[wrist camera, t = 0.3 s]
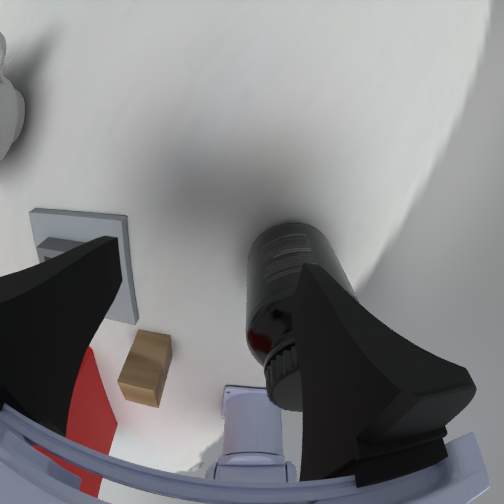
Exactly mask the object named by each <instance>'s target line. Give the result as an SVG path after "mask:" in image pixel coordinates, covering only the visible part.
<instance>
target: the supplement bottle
mask: <svg viewBox="0 0 504 504" xmlns="http://www.w3.org/2000/svg"><path fill="white" fill-rule="evenodd" d="M303 263H311V264H318V265H320V266H321V267H322V268H323V269H324V270H326V271H327V272H328V273H329V274H330V275H331V276H332V277H333V278H334V279H335V280H336V281H337V282H338V283H339V284H340V285H341V286H342V287H343V288H344V289H345V290H346V291H347V292H348V293H349V294H350V295H351V296H352V297H353V298H354V299H355V300H356V301H357V302H358V303H359V301H358V299H357V297H356V295H355V293H354V291H353V289H352V287H351V284H350V282H349V280H348V278H347V276H346V274H345V272H344V270H343V268H342V266H341V264H340V262H339V260H338V258H337V256H336V254H335V252H334V250H333V249H332V247H331V245H330V243H329V242H328V240H327V239H326V238H325V236H324V235H323V234H322V233H320V232H319V231H318V230H316V229H314V228H312V227H310V226H308V225H304V224H298V223H289V224H282V225H279V226H276V227H273V228H271V229H269V230H268V231H266V232H265V233H264V234H262V235H261V236H260V237H259V238H258V239H257V240H256V242H255V243H254V245H253V246H252V248H251V251H250V254H249V258H248V268H247V302H246V341H247V345H248V348H249V350H250V352H251V354H252V355H253V357H254V358H255V359H256V360H257V361H258V362H259V363H260V364H261V365H262V366H264V374H265V378H266V391H267V397H268V398H269V401H270V402H272V403H273V405H276V406H278V408H283V409H284V410H290V411H298V412H303V404H302V383H301V375H300V369H299V363H298V358H297V352H296V347H295V341H294V335H293V330H292V316H291V303H292V300H293V297H294V293H295V290H296V287H297V283H298V280H299V276H300V273H301V269H302V265H303Z"/></svg>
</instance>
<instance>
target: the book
mask: <svg viewBox="0 0 504 504" xmlns="http://www.w3.org/2000/svg"><path fill="white" fill-rule="evenodd" d="M116 428H117V421H116V419H115V416H114V414H113V411H112V409H111V406H110V404H109V401H108V398H107V395H106V393H105V390H104V387H103V384H102V381H101V378H100V375H99V371H98V368H97V365H96V361H95V358H94V354H93V350H92V349H91V348H90V347H89V346H88V348H87V351H86V353H85V356H84V359H83V361H82V364H81V367H80V370H79V373H78V376H77V380H76V383H75V386H74V390H73V395H72V399H71V404H70V409H69V415H68V422H67V430H66V436H65V438H67V439H69V440H71V441H73V442H76V443H78V444H80V445H83V446H85V447H88V448H90V449H93V450H95V451H98V452H100V453H103V454H106V455H109V451H110V448H111V444H112V441H113V437H114V434H115V431H116ZM33 445H34V444H33ZM34 447H35V449H36V450H38V451H39V452H41V453H42V454H44V455H46V456H47V457H49V458H51V459H52V460H53V461H54V462H56V463H57V464H58V465H60V466H61V467H63V468H64V469H66V470H68V471H69V472H71V473H73V474H75V475H77V476H78V477H80V478H81V480H82V481H81V484H80V491H81V492H83V493H86V494H88V495H90V496H93V497H95V498H98V493H99V489H100V485H101V481H102V477H100V476H97V475H95V474H92V473H90V472H87V471H85V470H83V469H80V468H78V467H76V466H74V465H71V464H69V463H67V462H65V461H63V460H61V459H59V458H57V457H55V456H53V455H52V454H50V453H48V452H46V451H44V450H42V449H41V448H39V447H37V446H36V445H34Z"/></svg>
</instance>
